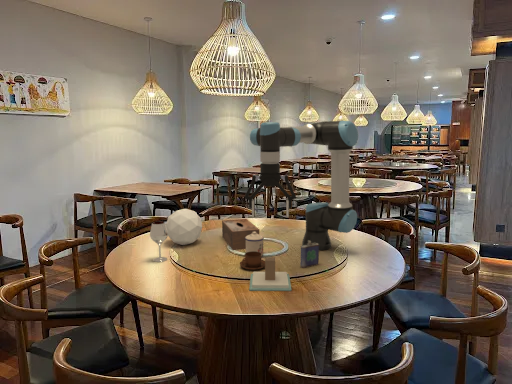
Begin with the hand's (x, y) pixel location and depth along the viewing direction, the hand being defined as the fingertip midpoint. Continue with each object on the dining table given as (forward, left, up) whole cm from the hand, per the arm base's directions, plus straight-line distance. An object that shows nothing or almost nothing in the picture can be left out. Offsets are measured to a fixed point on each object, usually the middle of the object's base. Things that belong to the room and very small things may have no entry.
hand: (270, 216), depth 149 cm
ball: (+46, -52, -27) cm, 74 cm away
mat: (0, +2, -27) cm, 27 cm away
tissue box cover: (+16, -55, -27) cm, 63 cm away
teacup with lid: (+7, -34, -27) cm, 44 cm away
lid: (0, +2, -26) cm, 26 cm away
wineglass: (+52, -25, -27) cm, 64 cm away
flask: (-18, -18, -27) cm, 37 cm away
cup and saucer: (+8, -16, -27) cm, 32 cm away
